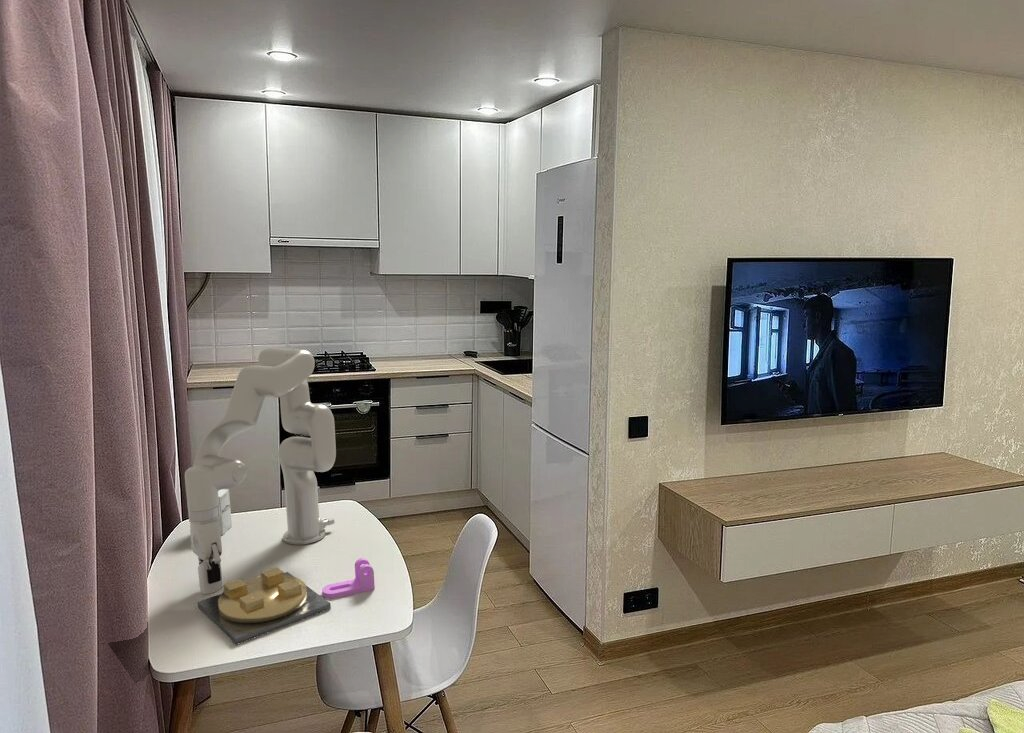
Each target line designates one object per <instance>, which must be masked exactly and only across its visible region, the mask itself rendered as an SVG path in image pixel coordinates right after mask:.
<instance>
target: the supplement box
mask: <svg viewBox="0 0 1024 733" xmlns="http://www.w3.org/2000/svg"><path fill="white" fill-rule="evenodd" d="M229 489H230V488H226V489H221V490H219V491H218V498H219V508H220V518H219V519H218V524H219V529H220V536H224V534H226V532H227V531H228V530H229V529H230V528H232V526H233V523H232V511H231V499H230V490H229Z"/></svg>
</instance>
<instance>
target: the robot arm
mask: <svg viewBox="0 0 1024 733" xmlns="http://www.w3.org/2000/svg"><path fill="white" fill-rule="evenodd" d="M257 361H258V365H255V364H254V365H253V364H251V365H247V366H245V367H243V368H242V369H240V370H239V373H238V375H237V378H236V380H235V382H234V386H233V389H232V392H231V396H230V399H229V400H228V404H227V408H226V411H225V413H224V415H223V417H222V418H221V419H220V420H219V421H217V423H216V424H215V425H213V426H212V427H211V429H210V430H209V431H208V432H207V433H206V434H205V436H204V437H203V438H202V439H201V441H200V444H199V446H198V448H197V453H196V454H195V458H194V462H193V466H190V467H189V468H187V469H186V470H185V472H184V483H185V493H186V494H185V495H186V504H187V511H188V513H187V514H188V522H189V523H190V524H189V525H190V526H189V530H190V531H189V532H190V548H191V551H192V552H193V553H194V555H196V556H197V560H198V566H199V565H200V564H201V563H202V562H203V561H205V560H207V565H208V569H207V577H208V583H209V584H212V583H215V582H218V581H221V573H220V563H221V562H222V558H221V556H222V554H223V546H222V535H220V529H219V524H218V519H219V518H220V508H219V498H218V491H219V490H221V489H230V488H234V487H237V486H239V485H240V484H241V483H243V482H244V480H245V479H246V477H247V473H248V470H247V469H248V468H247V466H246V464H245V463H244V462H242V461H241V460H239V459H237V458H231V457H225V456H220V455H221V452H222V449H223V447H225V445H226V444H227V443H228V442H229V440H231V439H232V438H234V437H235V436H237V435H240V434H242V433H244V432H246V431H248V430H251V429H253V428H254V427H255V426H256V425H257V423H258V419H259V417H260V412H261V409H262V407H263V404H264V402H265V401H264V400H265V398H279V401H280V402H279V403H280V405H279V406H280V418H281V425H282V428H283V429H284V431H286V432H288V433H290V434H295V435H304V436H309V437H304V436H290V437H288V438H285V439H284V440H282V442H281V443H280V444H279V447H278V453H277V454H278V460H279V463H280V467H281V470H282V475H283V482H284V483H283V484H284V495H285V496H284V498H285V509H286V511H285V512H286V523H287V531H285V532H284V533H283V535H282V539H283V541H284V542H285V543H286V544H289V545H296V546H297V545H299V546H300V545H308V544H312V543H317V542H318V541H320V540H322V539H324V537H325V536H326V529H325V528H326V527H327V526H332V525H334V524H335V519H334V517H331V518H328V519H327V518H326V517H323V518H320V510H319V509H320V508H319V496H318V491H319V490H318V481H317V477H316V475H315V472H317V473H319V472H320V473H324V472H328V471H329V470H331V469H332V468H333V467H334V464H335V462H336V457H337V449H336V448H337V447H336V446H337V445H336V442H337V441H336V429H335V428H336V425H335V417H334V414H333V413H332V410H331V409H330V408H329V407H328V406H327V405H324V404H321V403H312V402H311V399H310V398H311V396H310V388H309V383H308V378H310V377H311V375H312V374H313V373H314V369H315V366H316V365H315V364H316V361H315V358H314V356H313V354H312V353H311V352H310V351H308V350H306V349H299V348H285V347H267V348H264V349H262V350H261V351H260V352H259V354H258V359H257ZM212 554H213V556H211V557H210V555H212ZM211 559H214V560H213V561H212V563H211V562H210V560H211Z"/></svg>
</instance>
